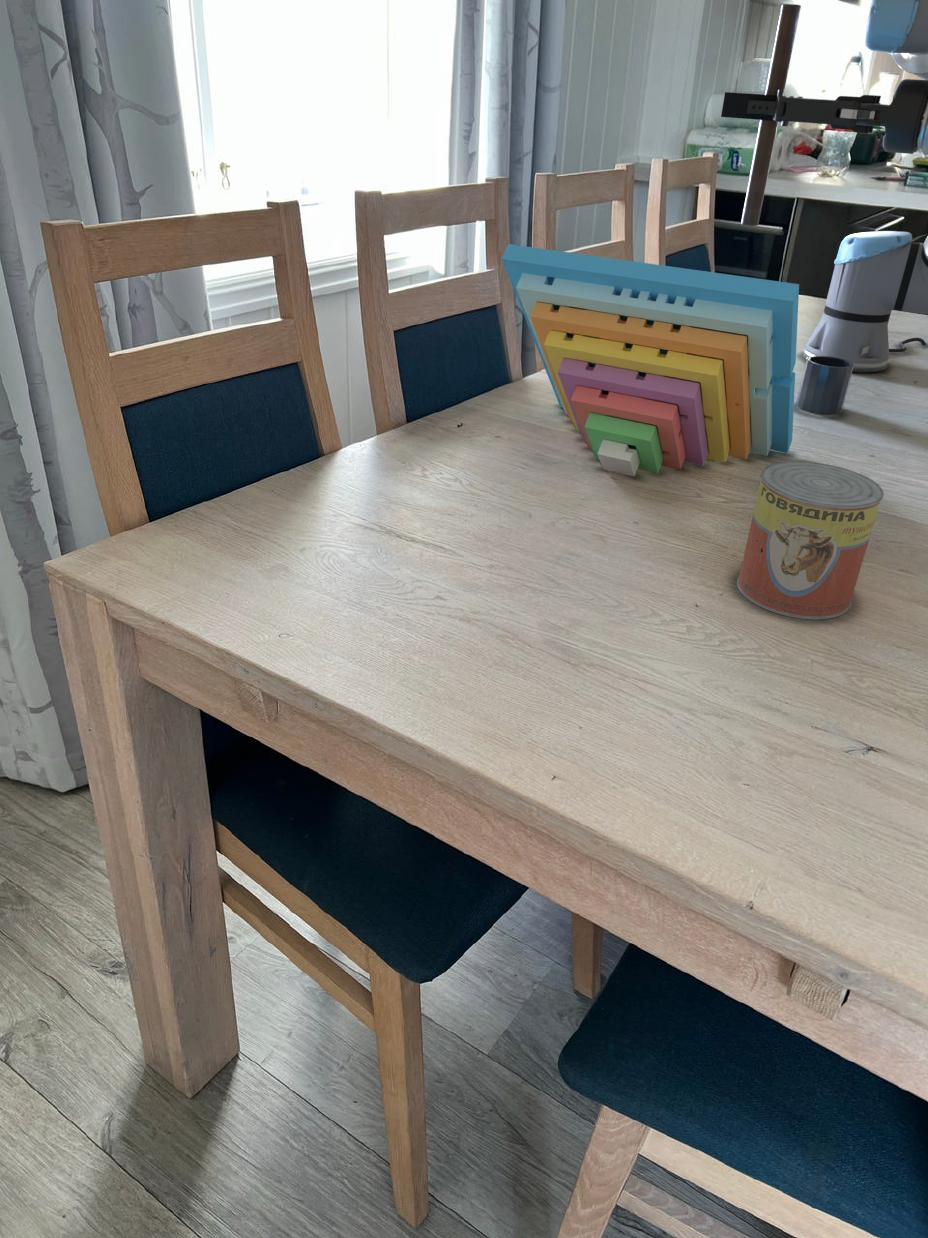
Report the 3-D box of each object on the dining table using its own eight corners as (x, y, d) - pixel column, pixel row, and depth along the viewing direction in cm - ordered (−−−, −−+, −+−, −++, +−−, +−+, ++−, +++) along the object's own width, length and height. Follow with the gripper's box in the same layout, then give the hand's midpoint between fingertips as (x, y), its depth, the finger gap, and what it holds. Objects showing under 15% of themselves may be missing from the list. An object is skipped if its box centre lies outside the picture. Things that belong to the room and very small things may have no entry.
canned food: (727, 602, 94) (752, 490, 88) (746, 558, 103) (770, 453, 97) (846, 630, 90) (880, 515, 84) (854, 582, 99) (886, 475, 93)
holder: (801, 401, 155) (812, 353, 151) (844, 410, 152) (857, 360, 148) (790, 412, 150) (802, 361, 146) (835, 421, 147) (848, 370, 143)
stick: (743, 222, 123) (784, 5, 111) (760, 224, 123) (803, 5, 111) (738, 224, 122) (779, 3, 110) (755, 226, 121) (798, 3, 109)
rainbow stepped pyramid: (524, 493, 143) (455, 366, 112) (564, 393, 147) (508, 243, 115) (754, 550, 130) (749, 424, 98) (792, 439, 133) (799, 284, 102)
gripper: (908, 156, 104) (702, 139, 114) (926, 152, 116) (738, 136, 125) (928, 78, 100) (714, 67, 110) (945, 82, 112) (750, 71, 122)
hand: (727, 104), depth 118 cm, fingers closed on stick, 2 cm apart
